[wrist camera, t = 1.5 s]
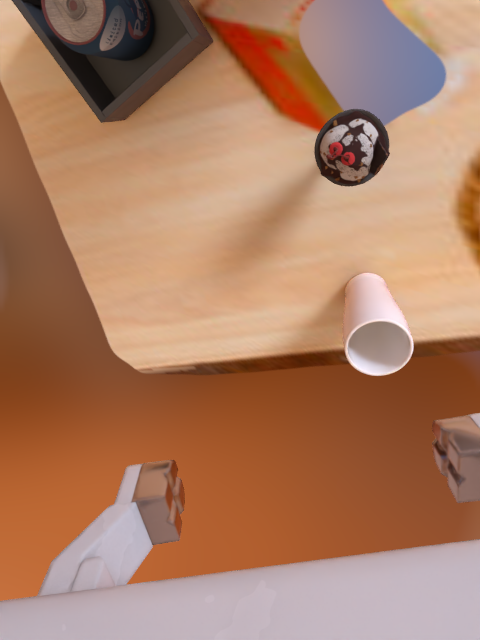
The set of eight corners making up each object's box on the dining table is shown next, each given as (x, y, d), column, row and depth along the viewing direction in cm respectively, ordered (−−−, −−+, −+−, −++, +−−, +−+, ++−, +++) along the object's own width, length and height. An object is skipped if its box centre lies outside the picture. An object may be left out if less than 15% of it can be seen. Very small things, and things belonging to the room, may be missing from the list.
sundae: (304, 134, 50) (297, 148, 37) (356, 93, 47) (369, 92, 34) (336, 182, 52) (340, 212, 39) (388, 145, 49) (411, 164, 36)
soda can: (170, 33, 48) (127, 16, 37) (124, 75, 50) (72, 70, 40) (130, -32, 46) (72, -69, 35) (84, 15, 48) (17, -7, 38)
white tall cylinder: (336, 311, 59) (339, 373, 46) (342, 263, 56) (348, 315, 43) (388, 316, 58) (407, 380, 45) (397, 267, 55) (421, 321, 42)
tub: (132, -90, 44) (105, -117, 38) (213, 41, 48) (199, 34, 42) (45, 9, 49) (10, -2, 43) (124, 120, 53) (101, 123, 47)
